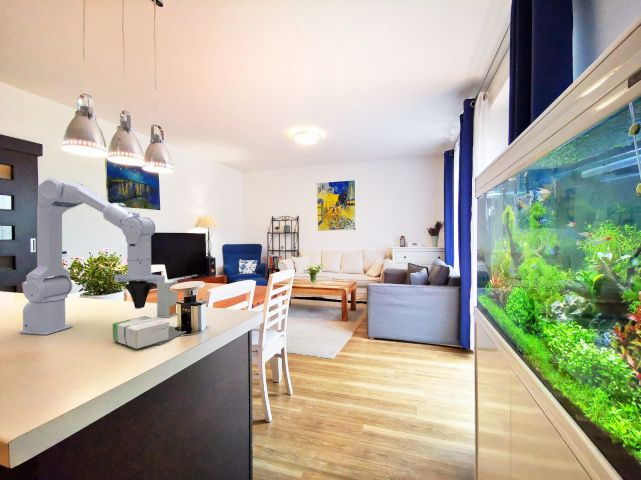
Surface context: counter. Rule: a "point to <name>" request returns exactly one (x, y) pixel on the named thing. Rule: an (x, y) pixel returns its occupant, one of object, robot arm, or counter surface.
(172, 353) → the counter surface
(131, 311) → the counter surface
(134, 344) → the ink box
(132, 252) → the robot arm
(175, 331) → the mat
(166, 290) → the skincare box
